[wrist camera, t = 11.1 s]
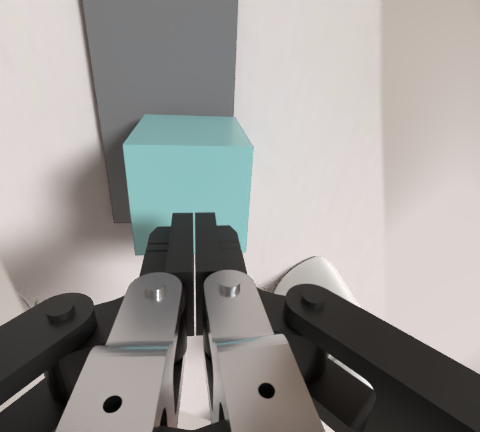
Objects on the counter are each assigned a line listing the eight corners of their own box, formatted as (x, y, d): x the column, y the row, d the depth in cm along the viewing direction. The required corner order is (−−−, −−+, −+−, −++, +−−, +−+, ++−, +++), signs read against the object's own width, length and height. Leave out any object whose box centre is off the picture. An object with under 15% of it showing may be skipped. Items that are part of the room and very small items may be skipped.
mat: (34, -359, 12) (28, -372, 11) (249, -314, 13) (251, -324, 13) (115, 220, 23) (114, 222, 22) (228, 218, 24) (229, 221, 23)
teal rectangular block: (144, 114, 18) (122, 144, 13) (235, 116, 19) (253, 146, 13) (151, 197, 21) (135, 255, 15) (231, 197, 22) (245, 252, 16)
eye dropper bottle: (337, 288, 28) (422, 431, 18) (276, 307, 29) (325, 460, 18) (330, 249, 26) (422, 384, 16) (264, 270, 26) (312, 417, 16)
